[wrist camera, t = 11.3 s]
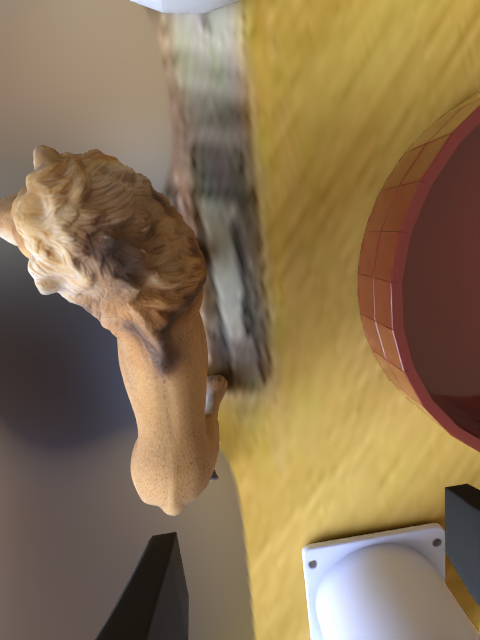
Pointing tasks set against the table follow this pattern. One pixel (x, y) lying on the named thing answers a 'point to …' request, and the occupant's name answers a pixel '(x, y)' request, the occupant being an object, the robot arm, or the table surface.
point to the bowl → (429, 274)
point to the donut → (184, 5)
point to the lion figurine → (130, 304)
